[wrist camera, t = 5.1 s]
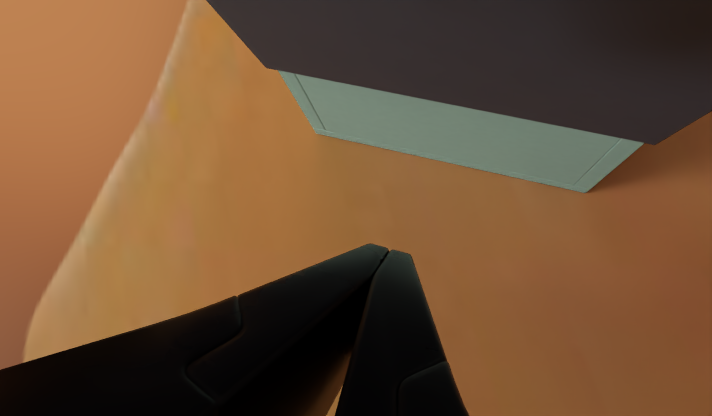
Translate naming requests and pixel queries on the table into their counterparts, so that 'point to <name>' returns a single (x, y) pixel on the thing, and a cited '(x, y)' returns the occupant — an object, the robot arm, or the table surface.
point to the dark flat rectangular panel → (502, 55)
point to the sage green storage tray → (459, 134)
